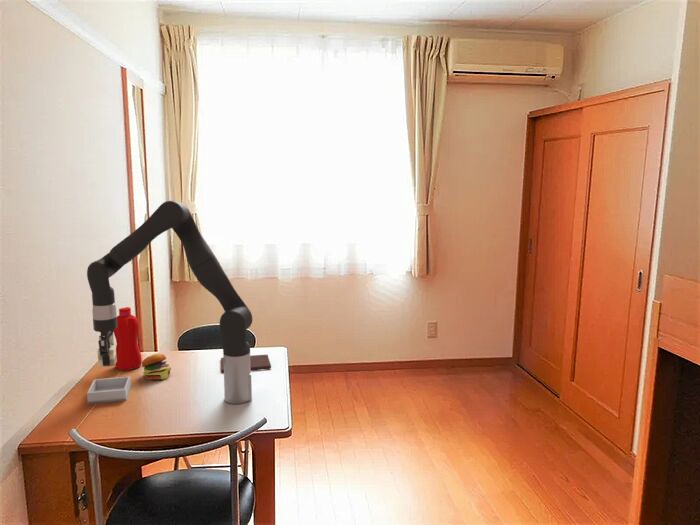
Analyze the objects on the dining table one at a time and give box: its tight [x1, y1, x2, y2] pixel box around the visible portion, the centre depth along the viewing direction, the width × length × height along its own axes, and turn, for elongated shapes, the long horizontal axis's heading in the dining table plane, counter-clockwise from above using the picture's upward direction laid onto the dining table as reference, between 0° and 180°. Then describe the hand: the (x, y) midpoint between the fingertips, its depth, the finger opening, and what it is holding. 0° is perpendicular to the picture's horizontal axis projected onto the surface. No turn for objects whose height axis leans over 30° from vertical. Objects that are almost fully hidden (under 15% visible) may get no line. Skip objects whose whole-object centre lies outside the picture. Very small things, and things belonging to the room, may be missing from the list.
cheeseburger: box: [141, 353, 172, 380], centre depth 200 cm, size 10×11×10 cm
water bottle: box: [113, 306, 143, 371], centre depth 208 cm, size 9×11×25 cm
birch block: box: [97, 344, 117, 368], centre depth 181 cm, size 5×5×6 cm
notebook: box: [220, 354, 272, 374], centre depth 214 cm, size 15×20×2 cm
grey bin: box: [86, 376, 132, 405], centre depth 183 cm, size 12×12×4 cm
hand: (107, 362), depth 181 cm, fingers closed on birch block, 5 cm apart
